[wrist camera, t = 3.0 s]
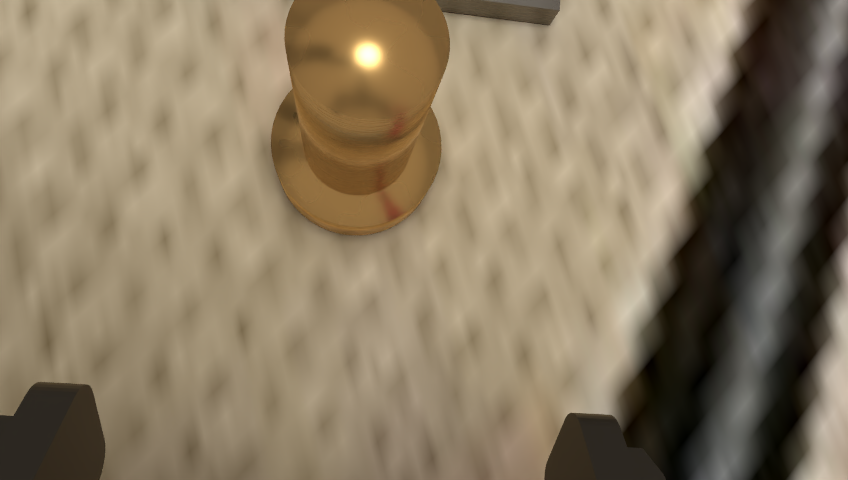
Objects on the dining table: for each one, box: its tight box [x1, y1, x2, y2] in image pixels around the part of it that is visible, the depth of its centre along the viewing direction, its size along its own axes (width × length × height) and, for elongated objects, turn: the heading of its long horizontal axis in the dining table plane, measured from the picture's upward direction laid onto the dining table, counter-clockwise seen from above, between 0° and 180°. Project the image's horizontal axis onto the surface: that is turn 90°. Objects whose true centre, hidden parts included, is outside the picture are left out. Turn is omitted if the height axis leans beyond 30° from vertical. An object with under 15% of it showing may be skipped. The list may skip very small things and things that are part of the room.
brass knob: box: [271, 0, 450, 235], centre depth 20 cm, size 6×6×10 cm
